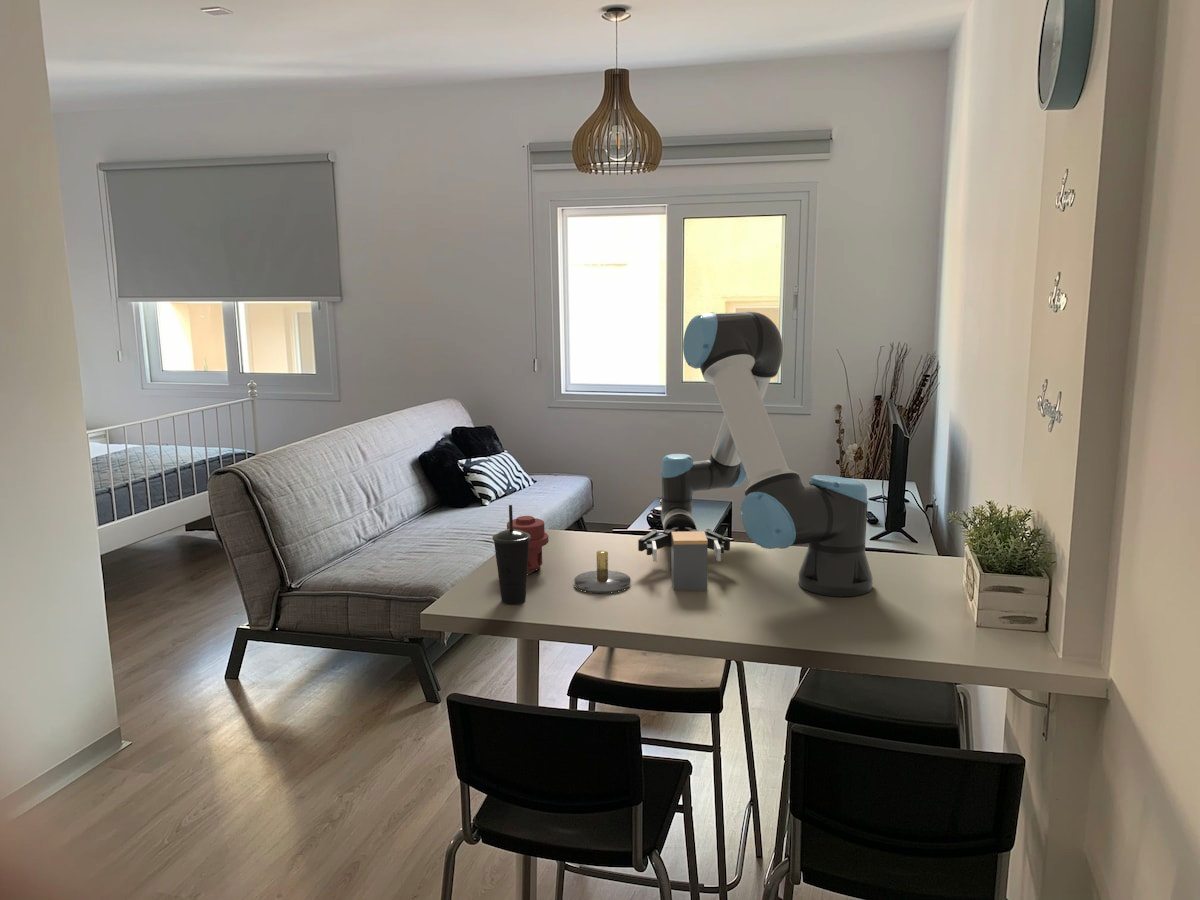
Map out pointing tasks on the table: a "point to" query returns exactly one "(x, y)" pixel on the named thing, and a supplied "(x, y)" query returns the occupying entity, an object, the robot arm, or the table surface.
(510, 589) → the drinking cup
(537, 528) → the mechanical component
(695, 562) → the sleeve
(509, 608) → the table surface
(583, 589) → the post base
